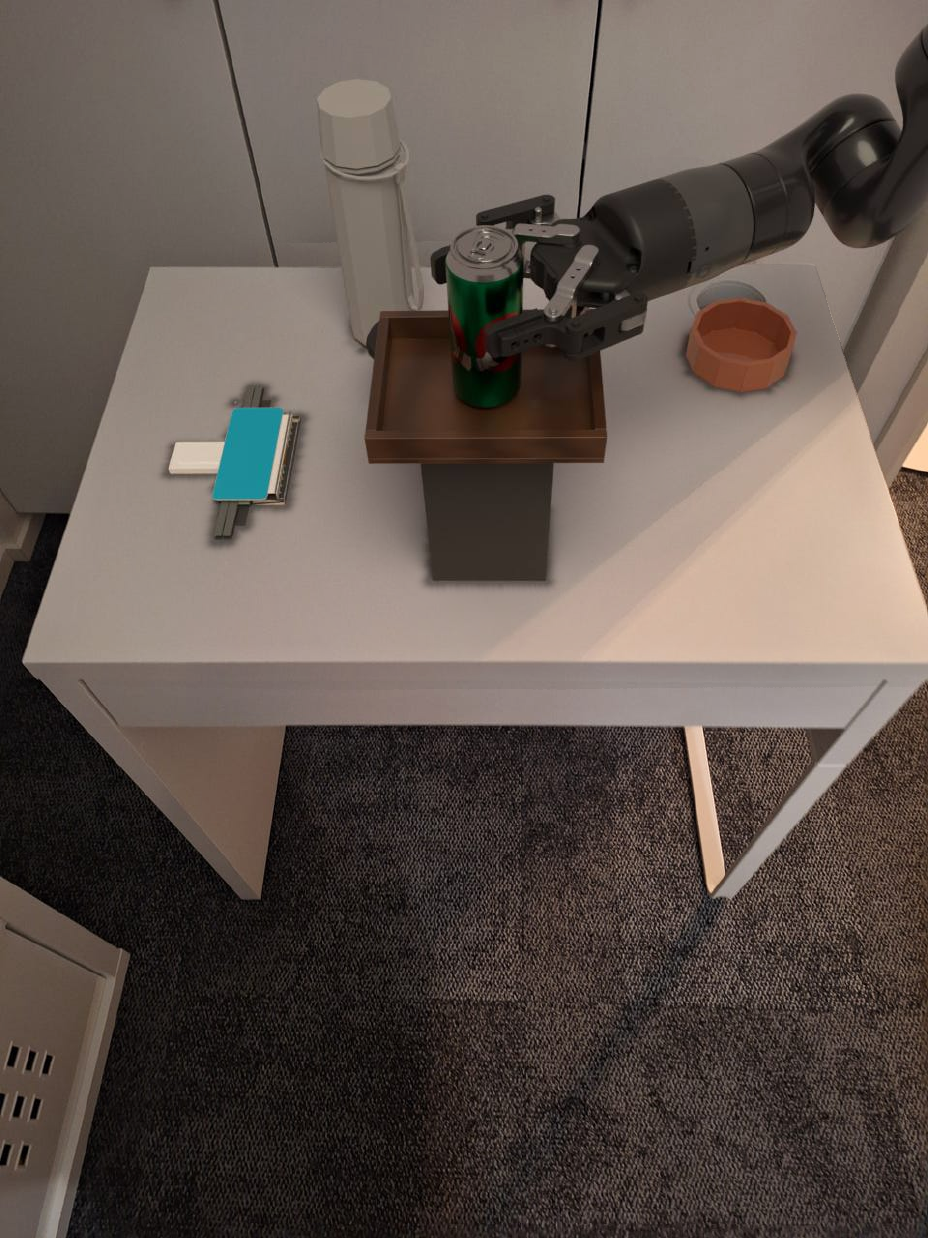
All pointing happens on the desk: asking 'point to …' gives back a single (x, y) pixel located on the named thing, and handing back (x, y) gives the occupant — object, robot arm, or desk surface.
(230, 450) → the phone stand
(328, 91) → the water bottle
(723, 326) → the bowl
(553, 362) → the tray
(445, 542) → the stand
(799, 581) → the desk surface
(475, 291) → the soda can
